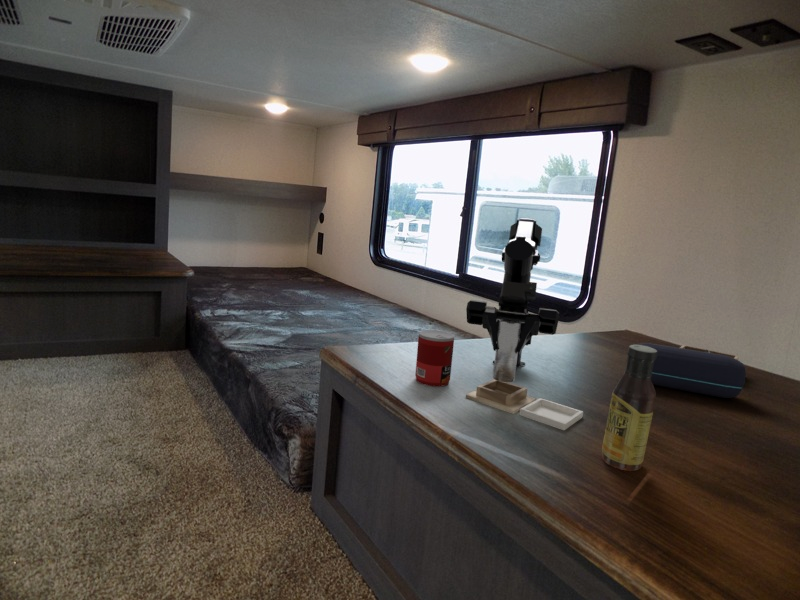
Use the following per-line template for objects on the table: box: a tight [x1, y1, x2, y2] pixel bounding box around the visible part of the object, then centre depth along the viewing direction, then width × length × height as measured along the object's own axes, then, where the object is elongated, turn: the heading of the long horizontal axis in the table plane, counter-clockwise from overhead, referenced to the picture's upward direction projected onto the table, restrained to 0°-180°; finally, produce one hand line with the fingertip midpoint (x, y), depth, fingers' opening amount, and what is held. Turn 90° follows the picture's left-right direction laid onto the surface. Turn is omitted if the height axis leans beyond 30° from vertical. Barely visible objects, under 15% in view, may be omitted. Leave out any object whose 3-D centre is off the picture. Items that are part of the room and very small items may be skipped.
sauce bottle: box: [601, 344, 657, 472], centre depth 80 cm, size 6×6×20 cm
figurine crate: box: [679, 344, 740, 361], centre depth 141 cm, size 11×14×5 cm
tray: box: [518, 398, 584, 431], centre depth 99 cm, size 9×9×2 cm
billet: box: [492, 319, 521, 383], centre depth 104 cm, size 4×4×12 cm
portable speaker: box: [626, 342, 747, 399], centre depth 123 cm, size 25×10×10 cm, turn 66°
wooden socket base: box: [465, 378, 537, 415], centre depth 106 cm, size 10×11×3 cm
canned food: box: [415, 329, 455, 387], centre depth 115 cm, size 8×8×11 cm
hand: (506, 351), depth 103 cm, fingers closed on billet, 4 cm apart
